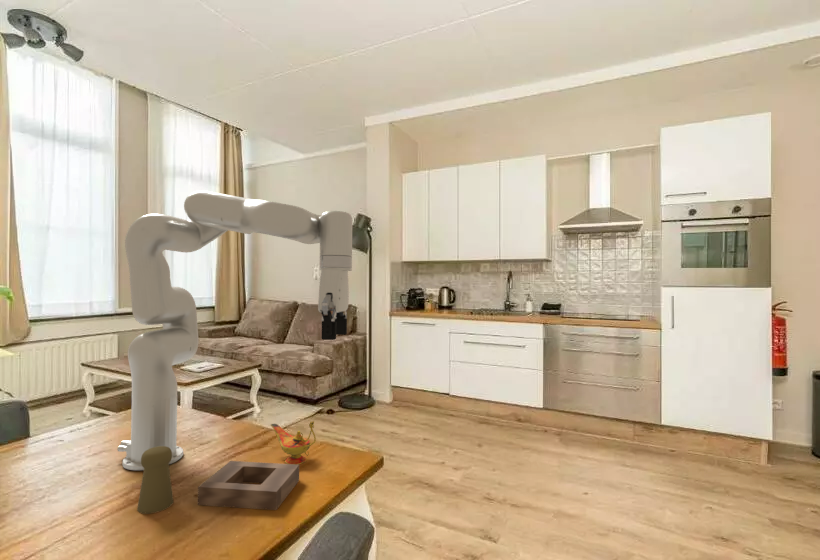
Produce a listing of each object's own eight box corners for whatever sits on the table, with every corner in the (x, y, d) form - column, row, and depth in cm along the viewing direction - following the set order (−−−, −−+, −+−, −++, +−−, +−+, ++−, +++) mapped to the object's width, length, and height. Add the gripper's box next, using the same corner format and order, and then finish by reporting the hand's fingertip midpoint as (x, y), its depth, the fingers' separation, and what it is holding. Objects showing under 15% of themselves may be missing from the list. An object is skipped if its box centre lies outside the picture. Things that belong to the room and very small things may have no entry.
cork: (156, 515, 76) (157, 456, 76) (129, 511, 78) (130, 453, 78) (180, 499, 82) (181, 444, 82) (155, 495, 83) (156, 441, 84)
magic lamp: (282, 445, 110) (283, 404, 110) (326, 463, 99) (327, 418, 99) (259, 453, 105) (260, 410, 105) (303, 473, 94) (303, 425, 94)
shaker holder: (197, 504, 80) (197, 486, 80) (230, 476, 92) (230, 460, 92) (276, 510, 79) (276, 491, 79) (299, 480, 91) (299, 464, 91)
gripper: (330, 266, 106) (329, 332, 105) (307, 262, 88) (306, 341, 88) (359, 266, 105) (358, 333, 105) (342, 262, 88) (340, 342, 87)
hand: (334, 336), depth 96 cm, fingers open, 9 cm apart
